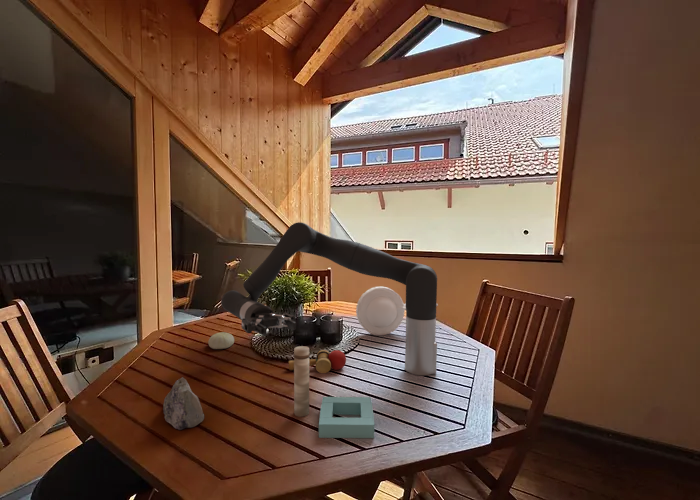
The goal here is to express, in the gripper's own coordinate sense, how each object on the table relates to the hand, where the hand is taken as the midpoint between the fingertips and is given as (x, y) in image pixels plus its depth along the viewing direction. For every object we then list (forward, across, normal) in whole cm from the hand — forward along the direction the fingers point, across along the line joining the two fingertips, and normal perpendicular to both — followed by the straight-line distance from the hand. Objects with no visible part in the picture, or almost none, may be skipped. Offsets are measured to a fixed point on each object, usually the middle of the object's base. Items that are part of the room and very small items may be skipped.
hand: (280, 328), depth 94 cm
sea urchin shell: (-47, -1, +19) cm, 51 cm away
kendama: (-8, +17, +18) cm, 26 cm away
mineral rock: (-4, -23, +19) cm, 30 cm away
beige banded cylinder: (+12, 0, +18) cm, 21 cm away
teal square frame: (+21, +7, +18) cm, 29 cm away
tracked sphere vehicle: (-20, +64, +18) cm, 69 cm away
